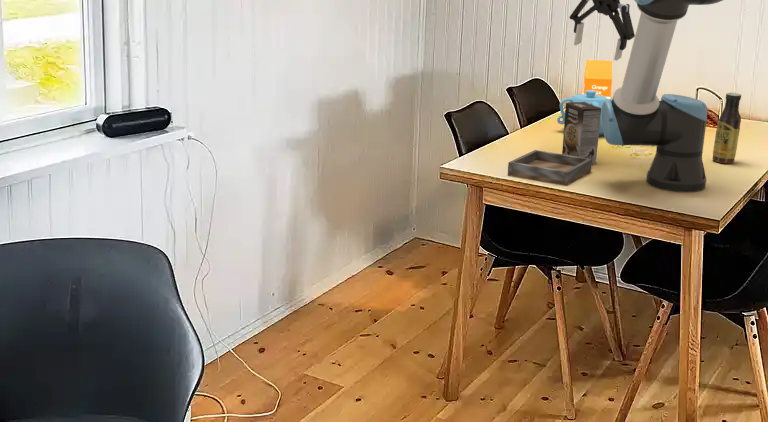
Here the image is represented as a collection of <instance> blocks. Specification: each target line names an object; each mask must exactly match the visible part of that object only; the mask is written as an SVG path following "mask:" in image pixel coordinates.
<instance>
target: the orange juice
mask: <svg viewBox="0 0 768 422" xmlns="http://www.w3.org/2000/svg"><path fill="white" fill-rule="evenodd" d="M583 76H584V77H583V84H582V85H583V86H582V87H583V88H582V94H586V91H587V90H594V91H596V94H595V95H603V96H605V97H606V98H607V99H609V98H612V97H611V95H612V85H613V84H612V83H613V60H604V59H603V60H602V59H600V60H599V59H598V60H597V59H586V60H585V68H584V73H583Z"/></svg>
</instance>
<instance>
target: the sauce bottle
mask: <svg viewBox="0 0 768 422" xmlns="http://www.w3.org/2000/svg"><path fill="white" fill-rule="evenodd" d="M741 99H742V94H741V93H738V92H727V93H726V95H725V103H724V107H723V110H722V112H721V114H720V116H719V118H718V120H717V125H716V132H715V137H714V144H713V150H712V160H713V161H714V162H716V163H719V164H723V165H724V164H733V163H735V158H736V156H737V150H738V149H737V148H738V143H739V136H740V132H741V131H740V130H741V123H742V117H741V114H740V112H739V109H740V102H741Z"/></svg>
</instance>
